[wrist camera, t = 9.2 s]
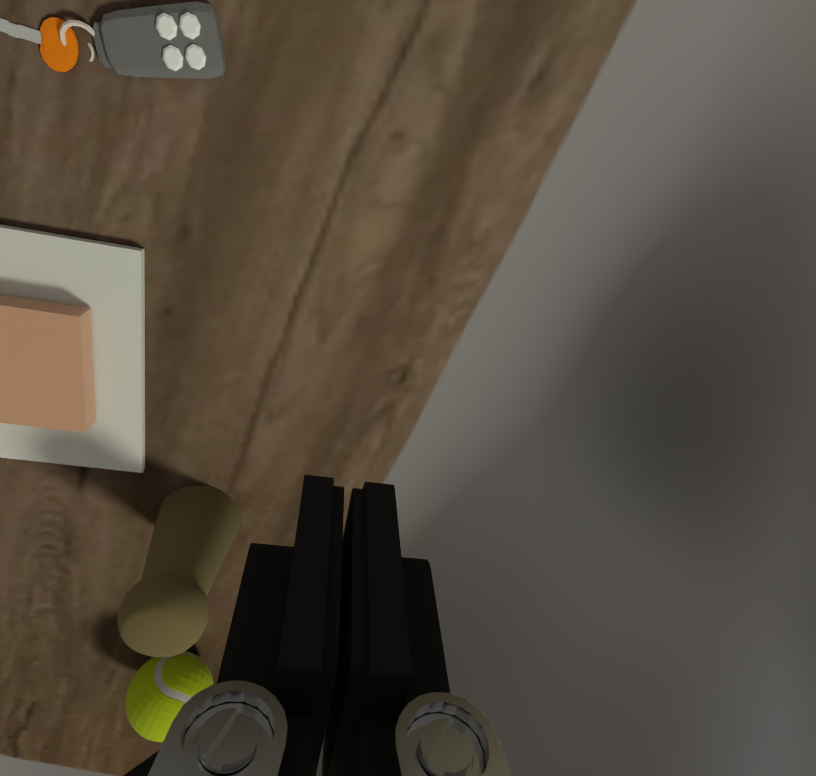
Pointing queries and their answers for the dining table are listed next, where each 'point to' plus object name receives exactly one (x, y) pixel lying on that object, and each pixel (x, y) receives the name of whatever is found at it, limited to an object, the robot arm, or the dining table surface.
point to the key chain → (138, 41)
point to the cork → (179, 572)
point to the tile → (46, 365)
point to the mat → (112, 343)
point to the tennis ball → (164, 692)
